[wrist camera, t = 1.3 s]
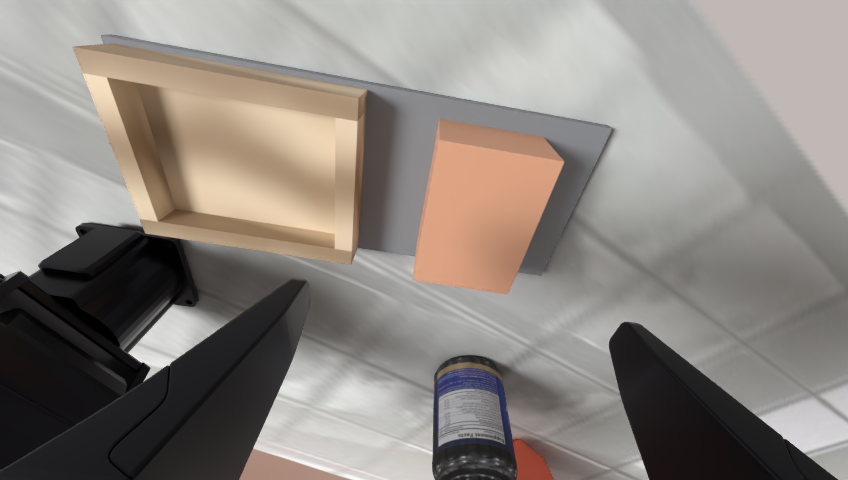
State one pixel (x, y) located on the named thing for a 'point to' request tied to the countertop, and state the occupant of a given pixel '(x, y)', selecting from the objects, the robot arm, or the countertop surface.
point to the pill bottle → (471, 423)
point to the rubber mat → (413, 150)
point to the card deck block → (482, 205)
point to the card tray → (233, 150)
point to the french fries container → (530, 463)
